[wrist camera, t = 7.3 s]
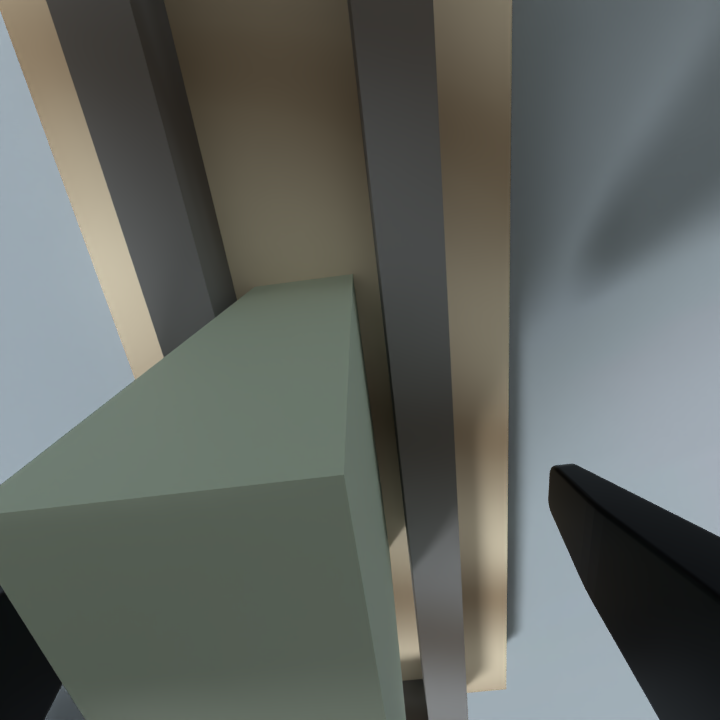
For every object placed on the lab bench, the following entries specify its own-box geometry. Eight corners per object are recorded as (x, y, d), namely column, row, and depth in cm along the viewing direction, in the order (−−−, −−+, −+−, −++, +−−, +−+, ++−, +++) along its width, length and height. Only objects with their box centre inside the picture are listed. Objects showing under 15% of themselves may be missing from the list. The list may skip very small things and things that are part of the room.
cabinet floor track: (496, 658, 15) (523, 743, 13) (263, 681, 15) (246, 766, 13) (492, -146, 7) (560, -323, 5) (9, -65, 7) (-154, -193, 5)
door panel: (389, 547, 12) (433, 990, 5) (315, 555, 12) (263, 1001, 5) (353, 273, 9) (345, 474, 2) (254, 286, 9) (-41, 517, 2)
